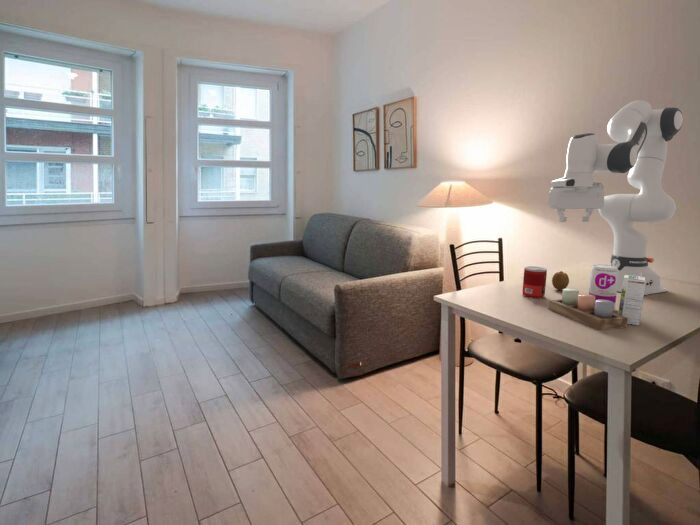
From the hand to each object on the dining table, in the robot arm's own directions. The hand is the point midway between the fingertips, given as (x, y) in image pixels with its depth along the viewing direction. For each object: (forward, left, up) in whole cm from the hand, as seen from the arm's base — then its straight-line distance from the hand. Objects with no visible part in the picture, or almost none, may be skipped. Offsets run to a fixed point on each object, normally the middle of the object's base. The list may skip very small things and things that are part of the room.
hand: (574, 221), depth 143 cm
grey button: (+6, +22, -27) cm, 36 cm away
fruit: (-11, -17, -30) cm, 36 cm away
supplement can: (-7, +8, -30) cm, 32 cm away
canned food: (+5, -12, -30) cm, 33 cm away
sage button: (+6, +8, -27) cm, 29 cm away
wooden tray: (+6, +15, -30) cm, 34 cm away
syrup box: (-4, +22, -30) cm, 38 cm away
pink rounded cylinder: (+6, +15, -27) cm, 32 cm away
